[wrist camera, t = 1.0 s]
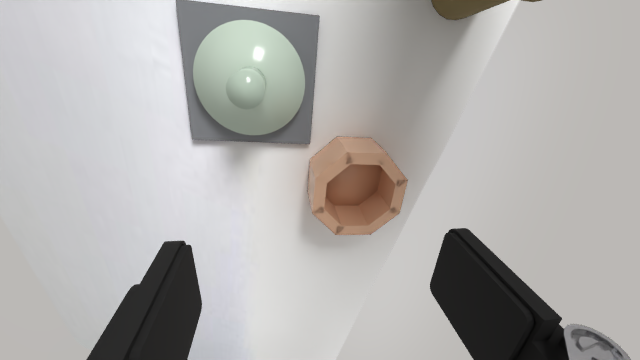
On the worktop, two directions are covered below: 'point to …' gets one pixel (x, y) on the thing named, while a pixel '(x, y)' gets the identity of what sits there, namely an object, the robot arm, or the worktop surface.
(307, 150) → the worktop surface
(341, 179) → the bowl
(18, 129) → the worktop surface
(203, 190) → the worktop surface
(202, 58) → the lid
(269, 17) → the mat
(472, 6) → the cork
